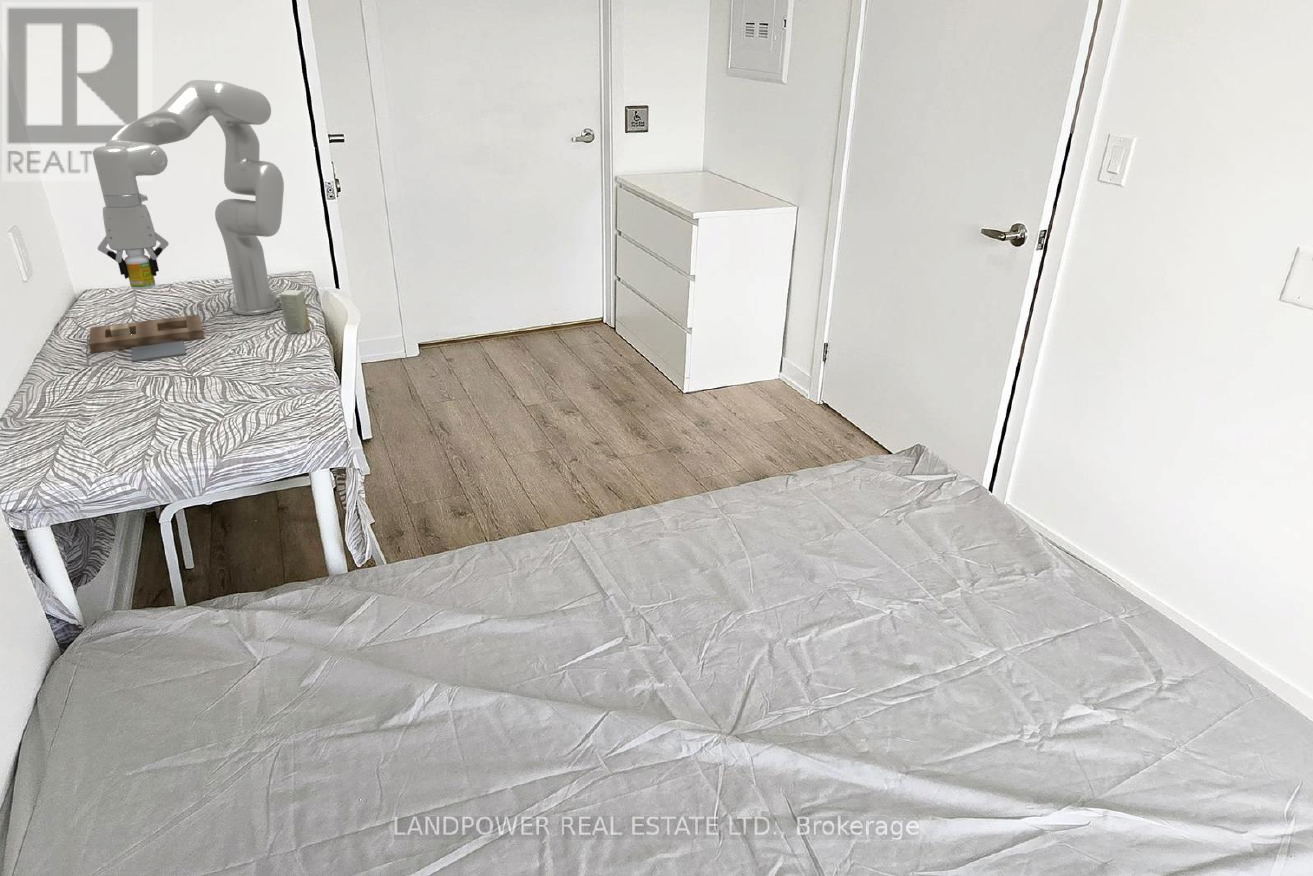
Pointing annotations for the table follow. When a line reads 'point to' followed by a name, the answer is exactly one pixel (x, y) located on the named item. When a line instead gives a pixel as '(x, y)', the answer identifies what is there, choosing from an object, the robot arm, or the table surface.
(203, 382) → the table surface
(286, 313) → the box
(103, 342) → the puzzle board
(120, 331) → the maple block
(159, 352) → the rubber mat
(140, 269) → the supplement bottle
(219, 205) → the robot arm
